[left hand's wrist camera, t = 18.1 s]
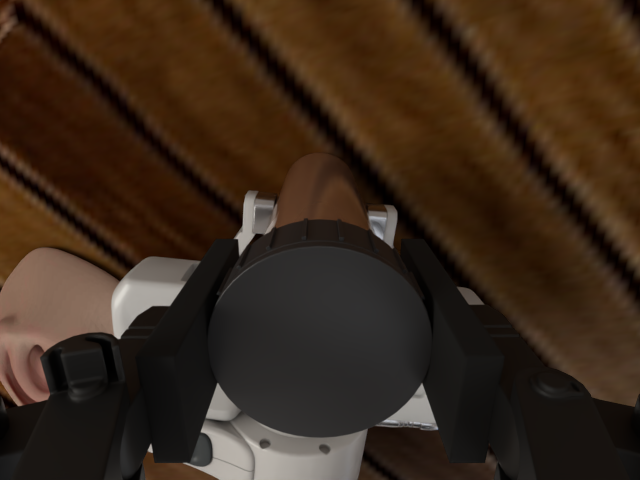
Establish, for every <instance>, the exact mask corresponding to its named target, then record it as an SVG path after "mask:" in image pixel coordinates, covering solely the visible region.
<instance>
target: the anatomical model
mask: <svg viewBox="0 0 640 480" xmlns="http://www.w3.org/2000/svg"><path fill="white" fill-rule="evenodd" d="M119 282H120V281H118V280H117V279H116V278H114V277H113V276H111V275H110V274H108V273H107V272H105V271H104V270H102V269H100V268H98V267H96V266H95V265H93V264H91V263H89V262H87V261H85V260H83V259H81V258H79V257H77V256H74V255H72V254H69V253H67V252H64V251H62V250H58V249H54V248H47V247H43V248H38V249H35V250H33V251H32V252H30V253H29V254H28V255H27V256H25V257H24V258H23V259H22V260H21V261H20V263H19V264H18V265H17V267H16V268H15V269H14V271H13V272H12V273H11V274H10V276H9V277H8V279H7V280H6V282H5V284H4V286H3V288H2V290H1V293H0V381H1V382H2V384H3V385H4V387H5V389H6V390H7V392H8V393H9V394H10V396H11V397H12V399H13V400H14V401H15V403H16V404H17V405H18V406H22V405H26V404H31V403H36V402H40V401H44V400H48V398H49V396H50V392H49V389H48V385H47V381H46V378H45V374H44V371H43V367H42V364H41V360H40V357H41V356H42V355H43V354H44V353H45V351H46V350H47V349H49V348H50V347H52V346H53V345H55V344H57V343H58V342H60V341H62V340H65V339H67V338H70V337H72V336H76V335H80V334H85V333H92V332H104V333H108V334H112V335H113V336H114V332H113V323H112V312H111V300H112V295H113V292H114V290H115V288H116V287H117V285H118V284H119Z"/></svg>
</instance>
